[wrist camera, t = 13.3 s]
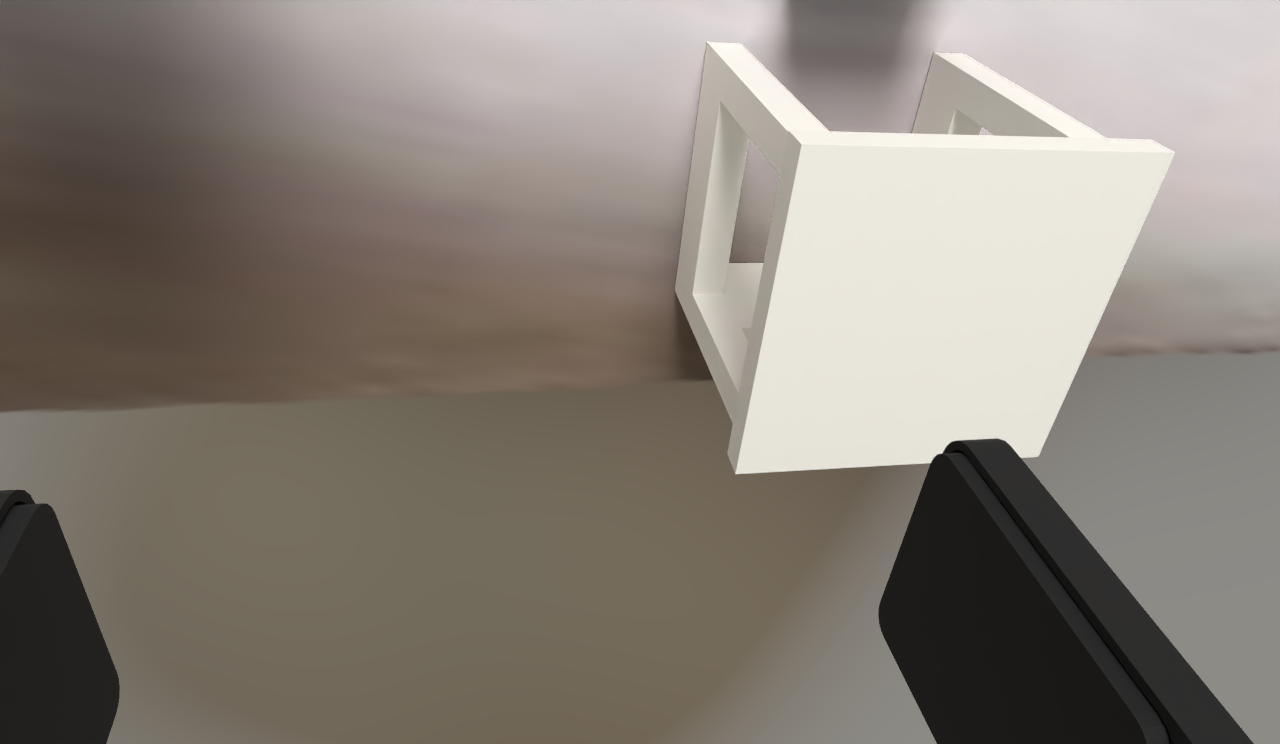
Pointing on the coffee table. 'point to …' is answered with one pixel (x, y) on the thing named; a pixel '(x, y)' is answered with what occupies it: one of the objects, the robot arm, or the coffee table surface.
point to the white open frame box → (902, 266)
